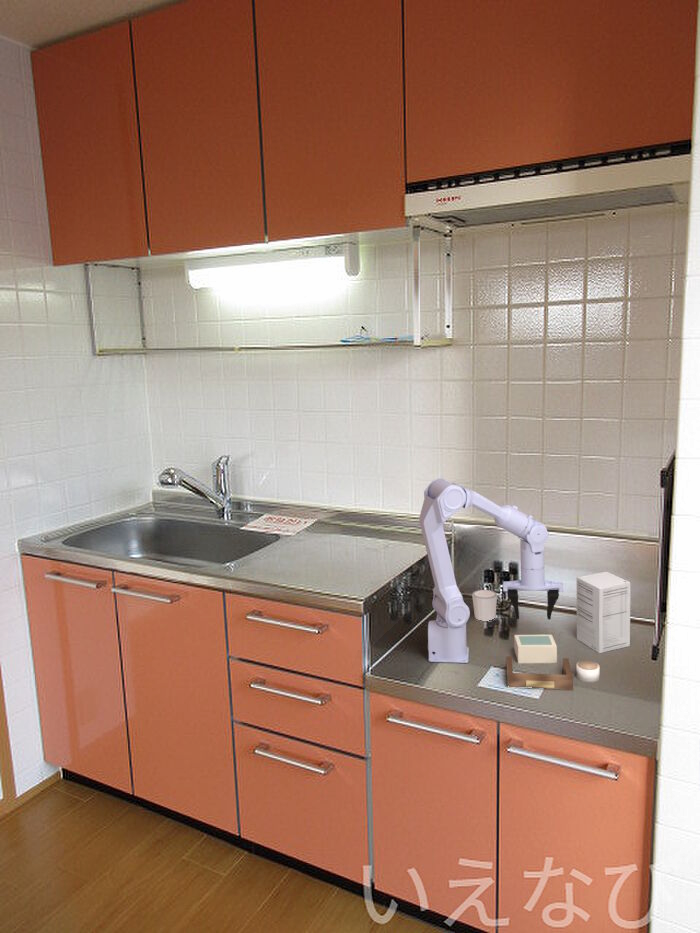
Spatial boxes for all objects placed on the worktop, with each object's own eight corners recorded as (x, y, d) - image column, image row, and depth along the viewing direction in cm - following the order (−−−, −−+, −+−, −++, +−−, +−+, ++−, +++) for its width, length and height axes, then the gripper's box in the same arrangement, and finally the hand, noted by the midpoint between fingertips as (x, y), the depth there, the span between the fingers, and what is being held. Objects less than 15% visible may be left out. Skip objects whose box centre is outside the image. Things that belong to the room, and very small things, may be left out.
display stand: (507, 688, 154) (507, 675, 154) (506, 668, 163) (506, 656, 163) (573, 690, 152) (573, 678, 151) (568, 670, 161) (568, 658, 160)
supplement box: (606, 632, 179) (607, 570, 176) (631, 646, 171) (632, 581, 167) (575, 639, 176) (575, 576, 173) (598, 654, 168) (599, 588, 165)
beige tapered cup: (482, 610, 197) (482, 587, 196) (502, 616, 192) (502, 593, 191) (467, 618, 193) (466, 594, 192) (487, 624, 188) (487, 600, 187)
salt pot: (577, 682, 155) (577, 669, 155) (575, 671, 160) (575, 659, 160) (601, 682, 154) (601, 670, 154) (597, 672, 159) (597, 659, 159)
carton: (518, 664, 165) (518, 646, 165) (514, 651, 172) (514, 634, 171) (556, 663, 164) (556, 646, 164) (551, 651, 171) (551, 634, 170)
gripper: (561, 561, 175) (561, 611, 177) (502, 561, 178) (503, 610, 180) (564, 570, 168) (564, 623, 170) (503, 570, 171) (504, 621, 173)
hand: (533, 617), depth 175 cm, fingers open, 7 cm apart
